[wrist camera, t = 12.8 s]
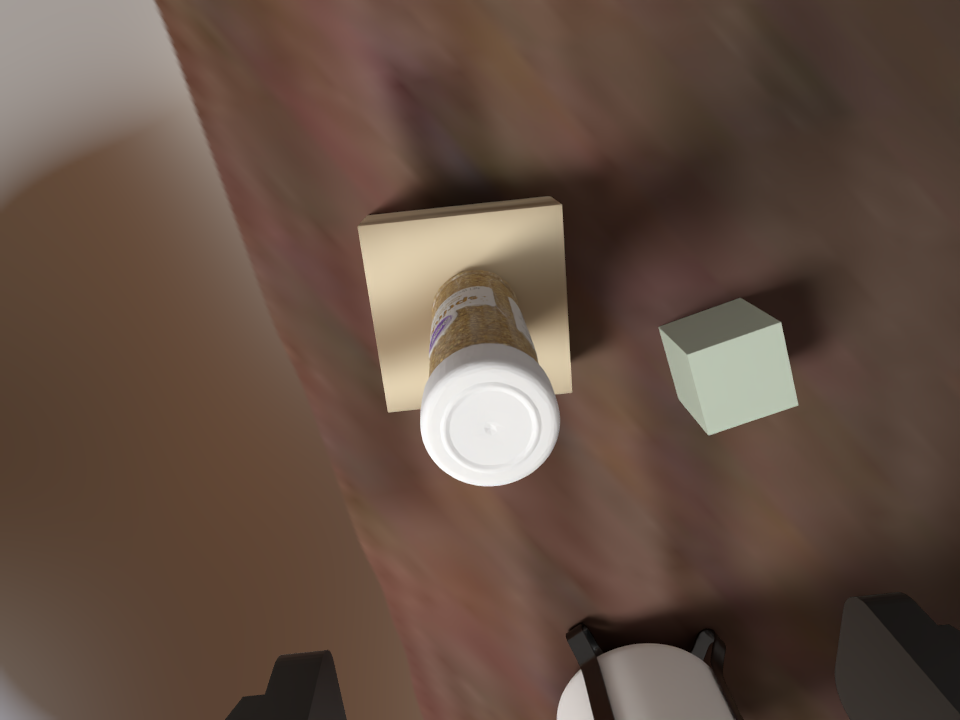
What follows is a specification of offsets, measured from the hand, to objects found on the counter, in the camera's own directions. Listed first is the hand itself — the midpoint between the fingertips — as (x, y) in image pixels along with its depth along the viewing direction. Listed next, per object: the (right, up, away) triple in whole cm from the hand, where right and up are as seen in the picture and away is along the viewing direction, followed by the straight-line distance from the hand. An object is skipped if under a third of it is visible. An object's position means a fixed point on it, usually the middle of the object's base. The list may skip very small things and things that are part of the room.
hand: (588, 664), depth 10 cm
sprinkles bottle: (-2, +7, +23) cm, 24 cm away
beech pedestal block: (-2, +9, +27) cm, 28 cm away
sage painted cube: (+12, +5, +29) cm, 32 cm away
